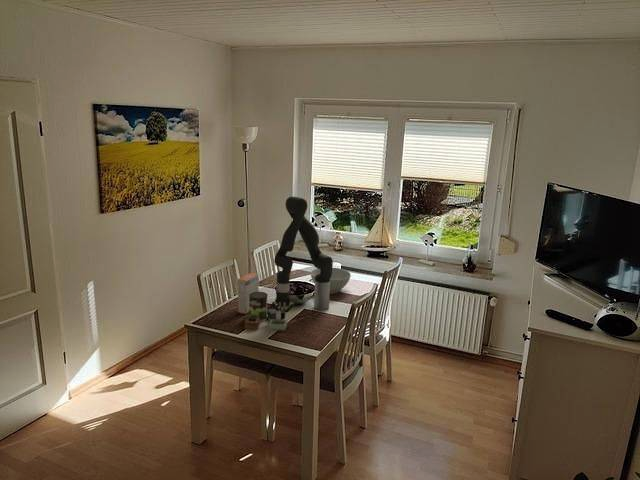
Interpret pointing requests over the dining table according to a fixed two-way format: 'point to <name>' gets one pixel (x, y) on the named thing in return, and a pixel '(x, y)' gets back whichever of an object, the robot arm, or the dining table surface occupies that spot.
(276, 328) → the tray
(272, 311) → the chock
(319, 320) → the dining table surface
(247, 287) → the cracker box
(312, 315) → the dining table surface
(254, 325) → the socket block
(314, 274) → the decorative bowl
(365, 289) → the dining table surface
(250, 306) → the coffee can
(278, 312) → the pin
